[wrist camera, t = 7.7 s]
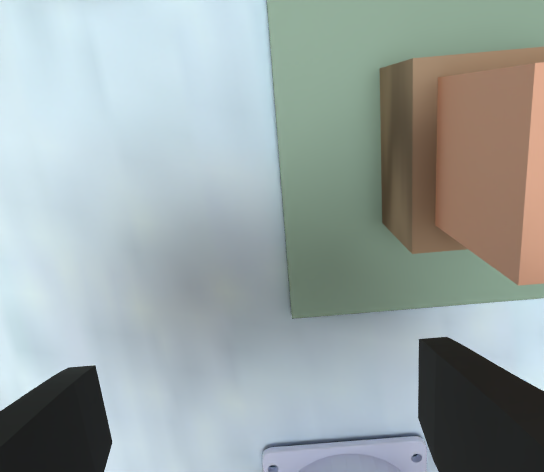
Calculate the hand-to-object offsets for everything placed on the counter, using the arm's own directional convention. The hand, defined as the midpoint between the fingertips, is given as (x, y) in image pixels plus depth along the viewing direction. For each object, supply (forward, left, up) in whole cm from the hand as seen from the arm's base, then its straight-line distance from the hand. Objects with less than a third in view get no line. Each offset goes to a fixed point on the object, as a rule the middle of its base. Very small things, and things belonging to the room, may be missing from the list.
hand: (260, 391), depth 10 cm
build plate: (+4, -8, -10) cm, 13 cm away
